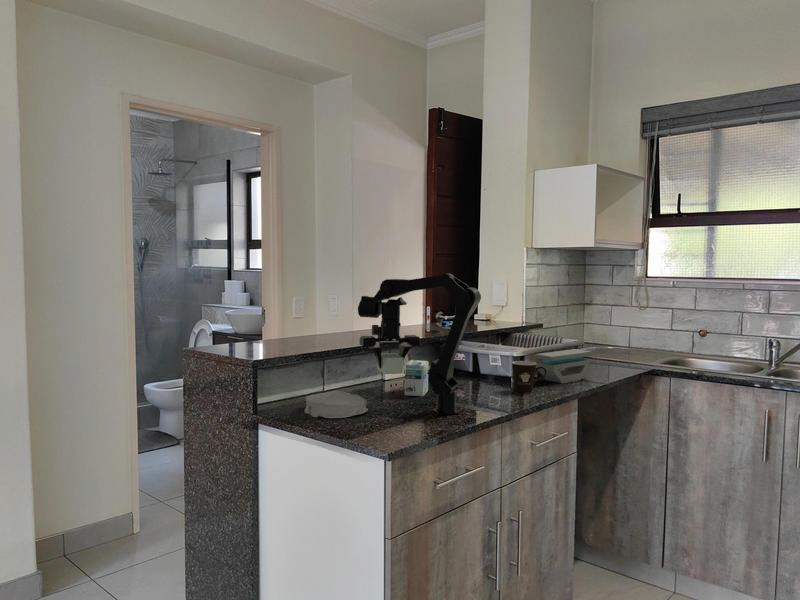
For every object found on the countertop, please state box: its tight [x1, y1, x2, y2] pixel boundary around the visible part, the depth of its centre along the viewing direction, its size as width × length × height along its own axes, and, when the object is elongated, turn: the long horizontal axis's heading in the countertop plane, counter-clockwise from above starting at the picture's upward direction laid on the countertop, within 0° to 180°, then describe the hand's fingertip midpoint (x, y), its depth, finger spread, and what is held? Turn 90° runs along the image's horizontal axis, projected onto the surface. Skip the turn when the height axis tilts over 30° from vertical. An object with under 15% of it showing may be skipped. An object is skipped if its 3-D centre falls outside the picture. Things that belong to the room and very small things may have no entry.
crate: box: [376, 352, 405, 375], centre depth 197 cm, size 9×6×5 cm, turn 17°
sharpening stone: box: [534, 348, 593, 384], centre depth 245 cm, size 25×8×11 cm, turn 128°
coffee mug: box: [511, 360, 546, 393], centre depth 224 cm, size 12×9×10 cm
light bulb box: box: [404, 359, 429, 397], centre depth 217 cm, size 11×7×11 cm, turn 168°
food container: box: [304, 389, 369, 419], centre depth 191 cm, size 20×20×7 cm
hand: (389, 368), depth 197 cm, fingers closed on crate, 6 cm apart
